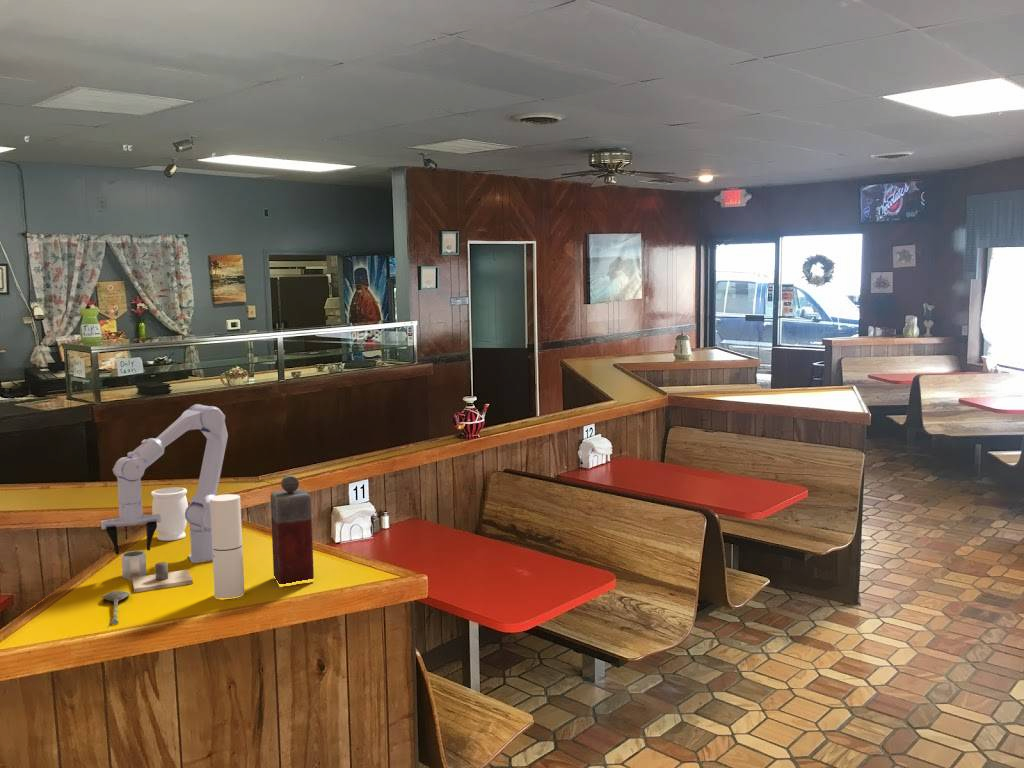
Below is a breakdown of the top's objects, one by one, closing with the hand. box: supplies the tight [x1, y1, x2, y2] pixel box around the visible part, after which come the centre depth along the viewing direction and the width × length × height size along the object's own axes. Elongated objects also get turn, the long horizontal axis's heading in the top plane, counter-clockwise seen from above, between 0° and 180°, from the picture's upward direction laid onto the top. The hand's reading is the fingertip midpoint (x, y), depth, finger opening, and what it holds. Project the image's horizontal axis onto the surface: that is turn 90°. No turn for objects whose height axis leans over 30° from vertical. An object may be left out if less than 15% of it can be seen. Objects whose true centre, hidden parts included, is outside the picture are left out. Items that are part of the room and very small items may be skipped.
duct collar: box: [120, 550, 148, 580], centre depth 233 cm, size 6×6×6 cm
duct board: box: [131, 561, 194, 593], centre depth 227 cm, size 14×10×5 cm
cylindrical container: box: [210, 493, 245, 598], centre depth 215 cm, size 7×7×25 cm
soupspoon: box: [101, 590, 132, 626], centre depth 208 cm, size 22×3×7 cm
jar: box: [150, 486, 189, 542], centre depth 269 cm, size 11×10×15 cm
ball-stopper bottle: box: [270, 474, 315, 584], centre depth 227 cm, size 9×11×28 cm
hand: (132, 551), depth 232 cm, fingers open, 7 cm apart
